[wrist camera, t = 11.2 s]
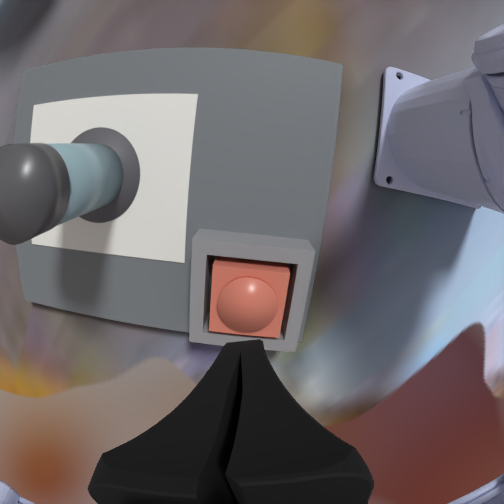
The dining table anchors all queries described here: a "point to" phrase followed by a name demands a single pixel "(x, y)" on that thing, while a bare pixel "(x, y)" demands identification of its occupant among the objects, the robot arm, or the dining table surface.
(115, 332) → the dining table surface
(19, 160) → the salt shaker
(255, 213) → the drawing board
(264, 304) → the button
